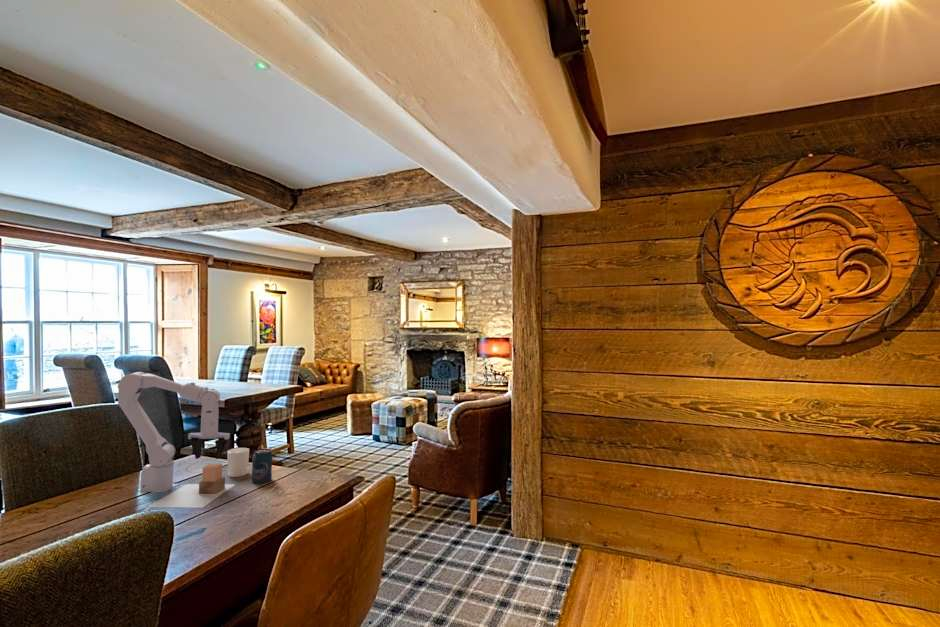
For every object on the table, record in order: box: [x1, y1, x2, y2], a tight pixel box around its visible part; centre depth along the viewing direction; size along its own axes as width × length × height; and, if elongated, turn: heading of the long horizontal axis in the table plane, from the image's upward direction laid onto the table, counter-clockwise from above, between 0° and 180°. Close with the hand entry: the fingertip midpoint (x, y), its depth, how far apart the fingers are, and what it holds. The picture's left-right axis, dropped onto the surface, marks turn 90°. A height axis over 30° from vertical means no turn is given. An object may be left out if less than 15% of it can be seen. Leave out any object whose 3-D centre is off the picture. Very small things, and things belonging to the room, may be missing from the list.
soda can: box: [251, 448, 273, 485], centre depth 174 cm, size 7×7×12 cm
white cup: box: [226, 447, 250, 478], centre depth 181 cm, size 8×8×10 cm
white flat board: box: [147, 483, 237, 509], centre depth 158 cm, size 18×22×1 cm
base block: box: [198, 476, 226, 494], centre depth 162 cm, size 6×6×4 cm
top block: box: [201, 463, 223, 482], centre depth 162 cm, size 4×4×5 cm
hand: (208, 458), depth 170 cm, fingers open, 7 cm apart
